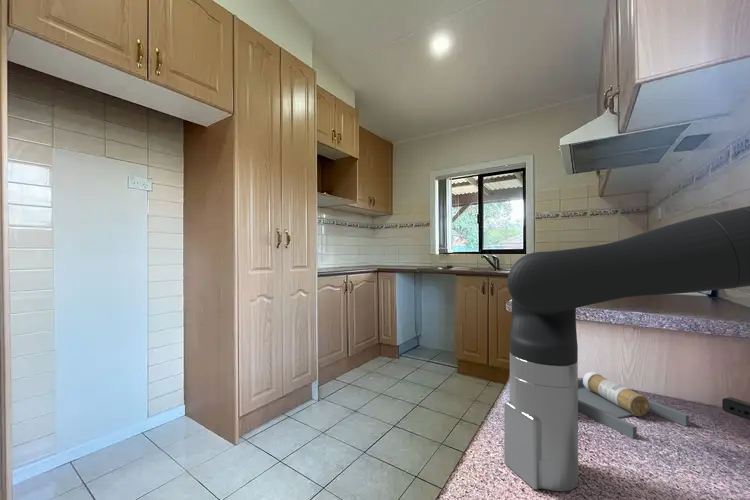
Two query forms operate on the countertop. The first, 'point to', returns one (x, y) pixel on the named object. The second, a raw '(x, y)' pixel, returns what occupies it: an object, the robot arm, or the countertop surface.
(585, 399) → the grey open-ended tray
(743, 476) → the countertop surface
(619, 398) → the sprinkles bottle
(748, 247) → the robot arm
